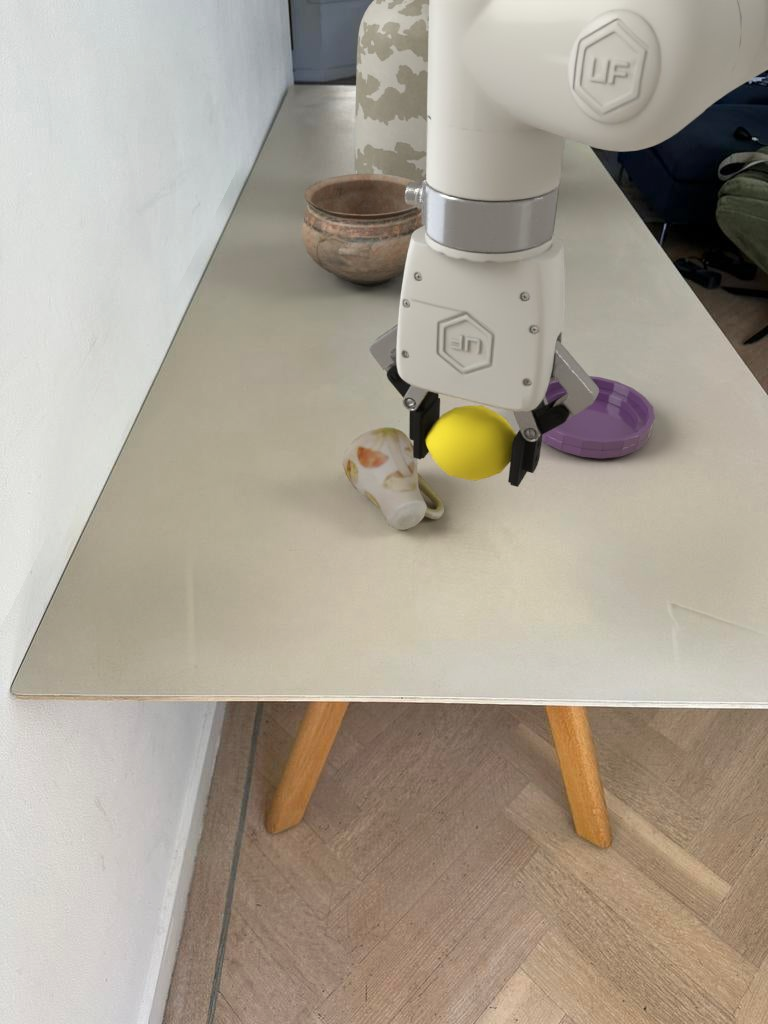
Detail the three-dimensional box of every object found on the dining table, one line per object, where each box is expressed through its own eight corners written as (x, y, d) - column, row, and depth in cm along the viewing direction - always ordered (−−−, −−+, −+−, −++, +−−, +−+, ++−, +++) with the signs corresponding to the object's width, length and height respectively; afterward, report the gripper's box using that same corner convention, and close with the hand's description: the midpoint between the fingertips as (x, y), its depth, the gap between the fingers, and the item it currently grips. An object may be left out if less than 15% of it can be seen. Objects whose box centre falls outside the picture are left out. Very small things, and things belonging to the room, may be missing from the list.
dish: (660, 412, 87) (666, 392, 85) (632, 475, 78) (638, 455, 76) (549, 384, 91) (552, 365, 90) (511, 441, 83) (513, 421, 81)
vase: (334, 211, 136) (322, -53, 111) (408, 188, 146) (413, -60, 121) (412, 243, 125) (418, -43, 100) (487, 216, 134) (511, -52, 109)
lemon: (419, 491, 55) (421, 429, 51) (427, 448, 59) (429, 387, 55) (518, 499, 54) (526, 436, 50) (519, 455, 58) (527, 394, 54)
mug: (383, 554, 69) (342, 454, 66) (366, 526, 79) (329, 438, 76) (457, 521, 70) (419, 421, 67) (431, 498, 79) (397, 409, 76)
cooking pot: (326, 241, 126) (322, 163, 118) (440, 249, 123) (443, 169, 115) (284, 307, 107) (276, 219, 99) (416, 318, 104) (419, 229, 97)
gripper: (328, 213, 45) (343, 459, 56) (624, 261, 38) (573, 526, 50) (385, 177, 50) (389, 409, 61) (655, 214, 43) (602, 465, 55)
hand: (472, 460), depth 55 cm, fingers closed on lemon, 6 cm apart
